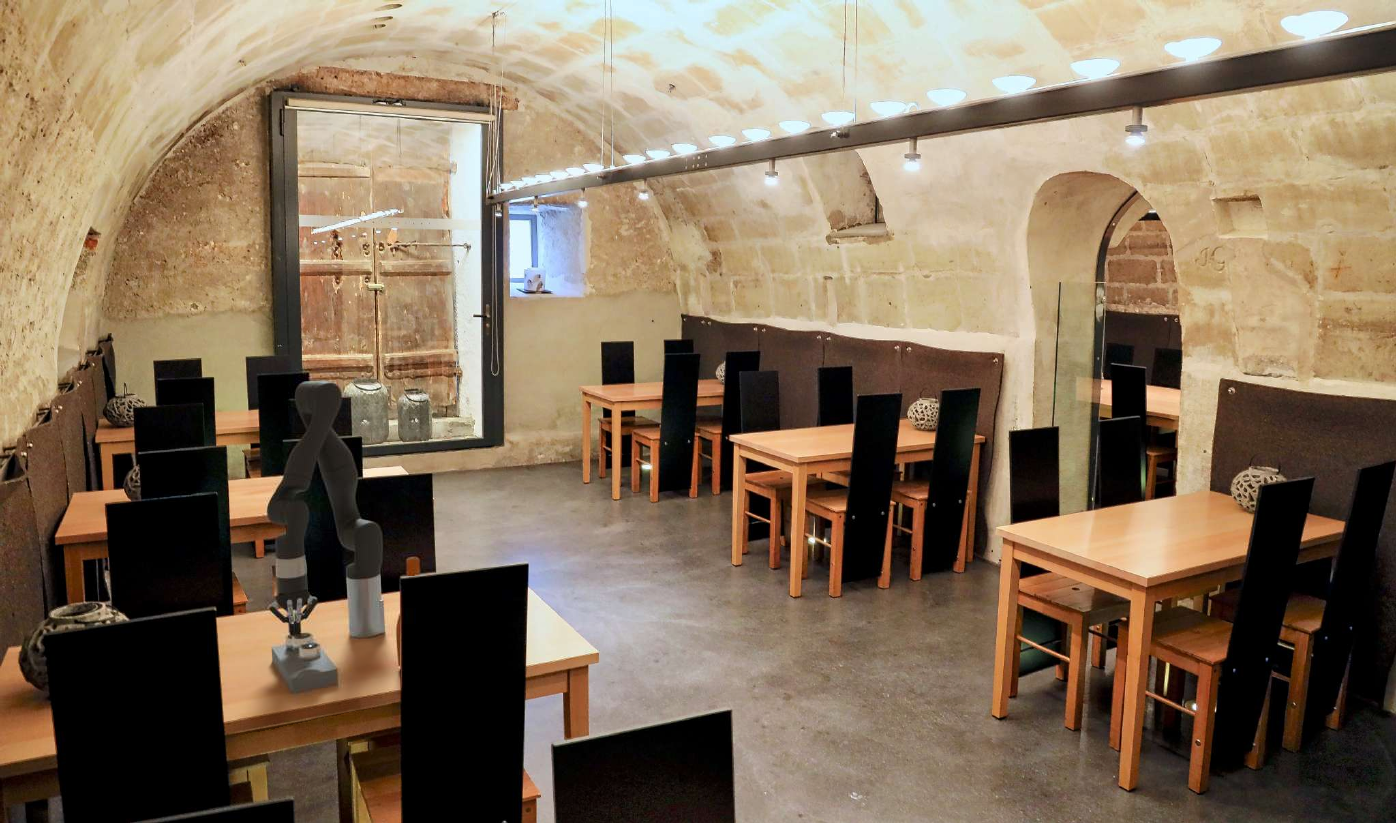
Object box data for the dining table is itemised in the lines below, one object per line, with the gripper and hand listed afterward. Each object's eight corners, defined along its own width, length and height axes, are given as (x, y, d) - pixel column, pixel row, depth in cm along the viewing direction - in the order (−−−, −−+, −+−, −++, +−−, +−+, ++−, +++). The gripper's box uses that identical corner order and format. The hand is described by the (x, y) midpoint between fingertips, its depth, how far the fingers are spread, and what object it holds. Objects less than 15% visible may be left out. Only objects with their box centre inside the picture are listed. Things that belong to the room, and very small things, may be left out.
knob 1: (304, 642, 277) (303, 630, 277) (308, 648, 273) (307, 636, 273) (284, 646, 275) (283, 634, 274) (288, 651, 271) (287, 640, 270)
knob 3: (318, 652, 263) (317, 640, 262) (323, 658, 259) (322, 646, 258) (297, 656, 260) (297, 644, 260) (302, 663, 256) (301, 650, 256)
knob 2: (310, 642, 270) (310, 630, 269) (315, 648, 266) (314, 636, 265) (290, 646, 267) (289, 634, 267) (294, 652, 263) (294, 640, 263)
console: (315, 652, 281) (314, 638, 280) (338, 683, 260) (337, 668, 259) (272, 661, 275) (271, 647, 274) (292, 693, 254) (291, 678, 254)
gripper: (314, 565, 278) (317, 626, 280) (261, 573, 271) (265, 636, 273) (320, 572, 271) (324, 635, 274) (267, 580, 264) (271, 645, 267)
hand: (295, 635), depth 273 cm, fingers closed
